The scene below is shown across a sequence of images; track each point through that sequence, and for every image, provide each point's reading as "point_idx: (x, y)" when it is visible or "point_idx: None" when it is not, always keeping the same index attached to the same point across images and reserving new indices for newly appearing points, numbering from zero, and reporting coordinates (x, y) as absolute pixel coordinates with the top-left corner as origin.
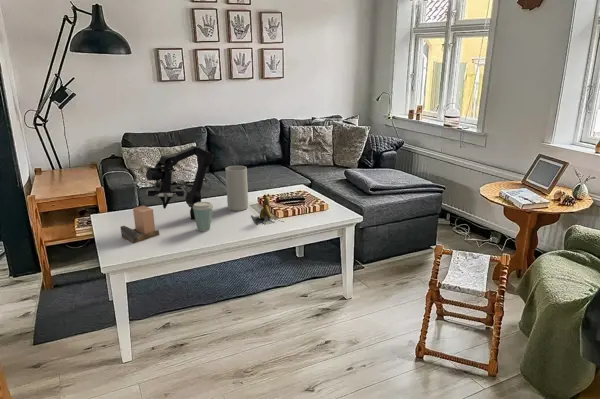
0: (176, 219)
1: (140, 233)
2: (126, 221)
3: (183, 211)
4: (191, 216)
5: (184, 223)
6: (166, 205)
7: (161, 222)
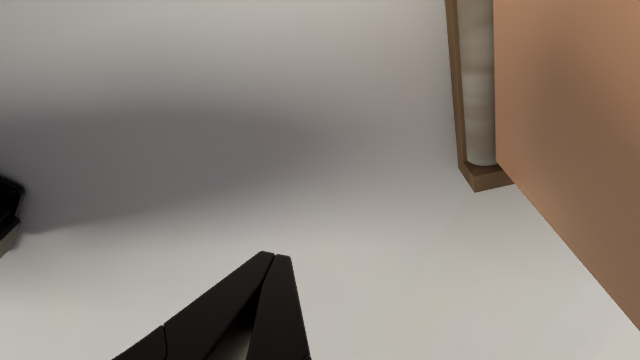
0: (161, 246)
1: None
2: (485, 356)
3: (90, 347)
4: (2, 215)
5: (95, 123)
6: (222, 287)
7: (293, 246)
